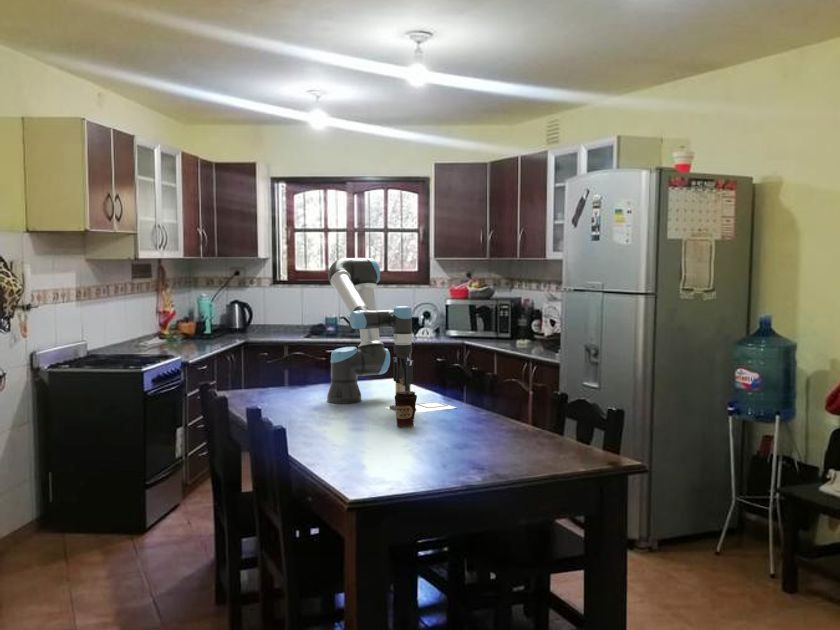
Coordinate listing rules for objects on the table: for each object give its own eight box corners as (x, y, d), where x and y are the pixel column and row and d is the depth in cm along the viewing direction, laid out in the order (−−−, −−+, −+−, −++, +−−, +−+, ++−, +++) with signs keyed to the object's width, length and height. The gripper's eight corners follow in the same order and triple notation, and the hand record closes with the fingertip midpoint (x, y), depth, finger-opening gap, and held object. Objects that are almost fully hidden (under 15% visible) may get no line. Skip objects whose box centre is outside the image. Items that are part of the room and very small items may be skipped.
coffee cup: (414, 429, 282) (414, 394, 281) (392, 428, 283) (392, 393, 282) (418, 424, 290) (418, 390, 289) (397, 423, 292) (397, 389, 291)
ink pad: (389, 408, 319) (389, 405, 319) (404, 407, 322) (404, 403, 322) (401, 412, 310) (401, 409, 310) (416, 411, 314) (416, 407, 314)
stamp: (395, 402, 317) (395, 378, 316) (405, 401, 319) (405, 377, 318) (401, 404, 313) (400, 379, 312) (410, 403, 315) (410, 379, 315)
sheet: (383, 407, 322) (383, 406, 322) (435, 402, 336) (435, 400, 336) (403, 414, 308) (403, 413, 308) (457, 408, 321) (457, 407, 321)
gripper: (384, 342, 320) (384, 397, 322) (405, 346, 305) (405, 404, 307) (400, 341, 324) (400, 396, 325) (421, 345, 309) (421, 402, 310)
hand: (403, 399), depth 316 cm, fingers closed on stamp, 4 cm apart
